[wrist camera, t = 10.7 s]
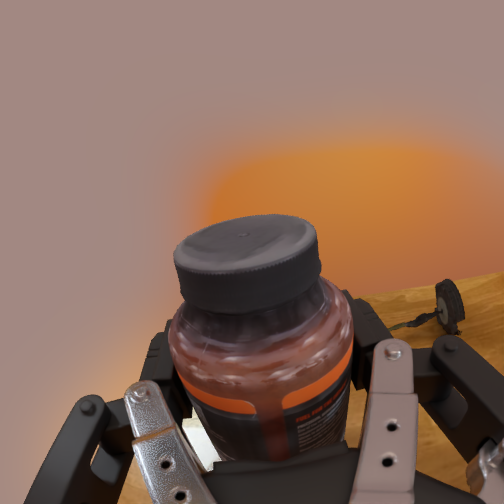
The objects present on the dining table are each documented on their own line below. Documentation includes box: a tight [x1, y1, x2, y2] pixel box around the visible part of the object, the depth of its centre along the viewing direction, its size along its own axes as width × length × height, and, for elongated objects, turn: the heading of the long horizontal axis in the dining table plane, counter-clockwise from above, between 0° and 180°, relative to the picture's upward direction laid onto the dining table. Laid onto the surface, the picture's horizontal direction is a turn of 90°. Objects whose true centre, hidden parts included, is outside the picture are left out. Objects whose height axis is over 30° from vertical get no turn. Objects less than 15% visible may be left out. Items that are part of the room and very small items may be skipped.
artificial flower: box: [388, 279, 465, 335], centre depth 27 cm, size 9×22×10 cm, turn 86°
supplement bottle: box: [168, 214, 353, 462], centre depth 10 cm, size 6×6×11 cm
